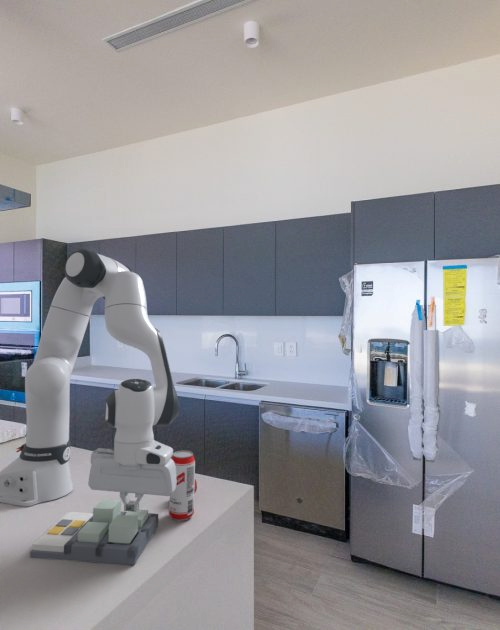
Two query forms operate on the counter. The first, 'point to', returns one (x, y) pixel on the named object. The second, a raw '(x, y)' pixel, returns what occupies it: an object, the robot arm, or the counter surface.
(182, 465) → the beer can
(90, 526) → the button
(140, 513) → the button
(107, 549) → the board
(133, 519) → the button
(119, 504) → the button
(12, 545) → the counter surface
